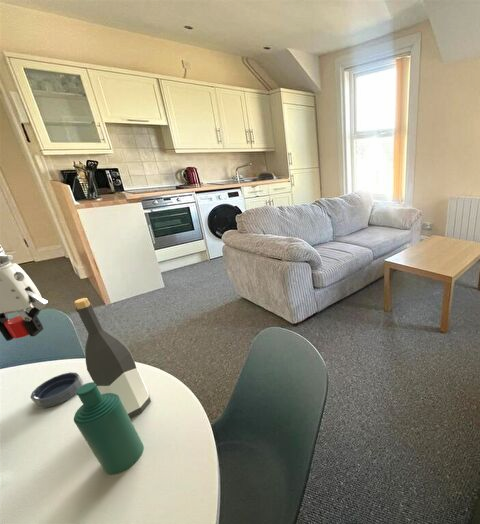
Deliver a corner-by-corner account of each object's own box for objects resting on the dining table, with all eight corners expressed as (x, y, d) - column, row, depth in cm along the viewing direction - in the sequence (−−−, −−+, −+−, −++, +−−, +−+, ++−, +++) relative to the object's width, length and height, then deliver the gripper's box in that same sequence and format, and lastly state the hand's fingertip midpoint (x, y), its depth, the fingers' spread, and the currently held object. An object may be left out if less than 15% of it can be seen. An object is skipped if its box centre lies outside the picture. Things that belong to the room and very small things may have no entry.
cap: (40, 329, 68) (32, 315, 66) (18, 339, 64) (9, 326, 63) (31, 326, 69) (23, 313, 67) (9, 336, 66) (-1, 323, 64)
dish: (26, 413, 69) (20, 404, 68) (51, 385, 77) (46, 376, 76) (70, 403, 71) (65, 394, 70) (90, 377, 79) (86, 369, 78)
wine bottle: (139, 389, 74) (93, 287, 63) (159, 399, 71) (114, 294, 59) (104, 414, 68) (45, 306, 56) (124, 426, 64) (65, 314, 53)
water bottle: (97, 479, 54) (51, 408, 47) (113, 446, 60) (75, 378, 53) (136, 468, 56) (97, 397, 48) (148, 437, 62) (116, 370, 54)
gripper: (42, 251, 65) (77, 319, 72) (-52, 262, 61) (-5, 332, 68) (16, 264, 58) (57, 337, 65) (-91, 277, 54) (-34, 353, 61)
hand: (25, 334), depth 67 cm, fingers closed on cap, 3 cm apart
